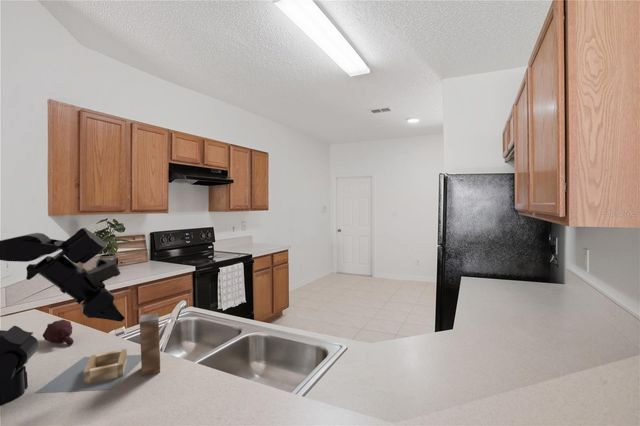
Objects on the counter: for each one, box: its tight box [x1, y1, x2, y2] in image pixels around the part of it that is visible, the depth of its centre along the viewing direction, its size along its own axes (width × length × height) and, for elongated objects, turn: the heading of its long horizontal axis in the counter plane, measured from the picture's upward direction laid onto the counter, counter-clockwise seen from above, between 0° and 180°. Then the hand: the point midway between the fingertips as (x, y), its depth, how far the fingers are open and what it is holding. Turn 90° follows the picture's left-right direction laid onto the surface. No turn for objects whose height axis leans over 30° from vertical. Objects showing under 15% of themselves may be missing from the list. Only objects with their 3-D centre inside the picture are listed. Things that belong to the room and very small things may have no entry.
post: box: [139, 312, 161, 378], centre depth 79 cm, size 4×5×15 cm
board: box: [34, 354, 141, 394], centre depth 79 cm, size 16×17×1 cm
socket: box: [83, 348, 128, 385], centre depth 79 cm, size 8×9×3 cm
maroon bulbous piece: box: [42, 319, 74, 346], centre depth 98 cm, size 7×7×15 cm
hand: (119, 314), depth 81 cm, fingers open, 9 cm apart
